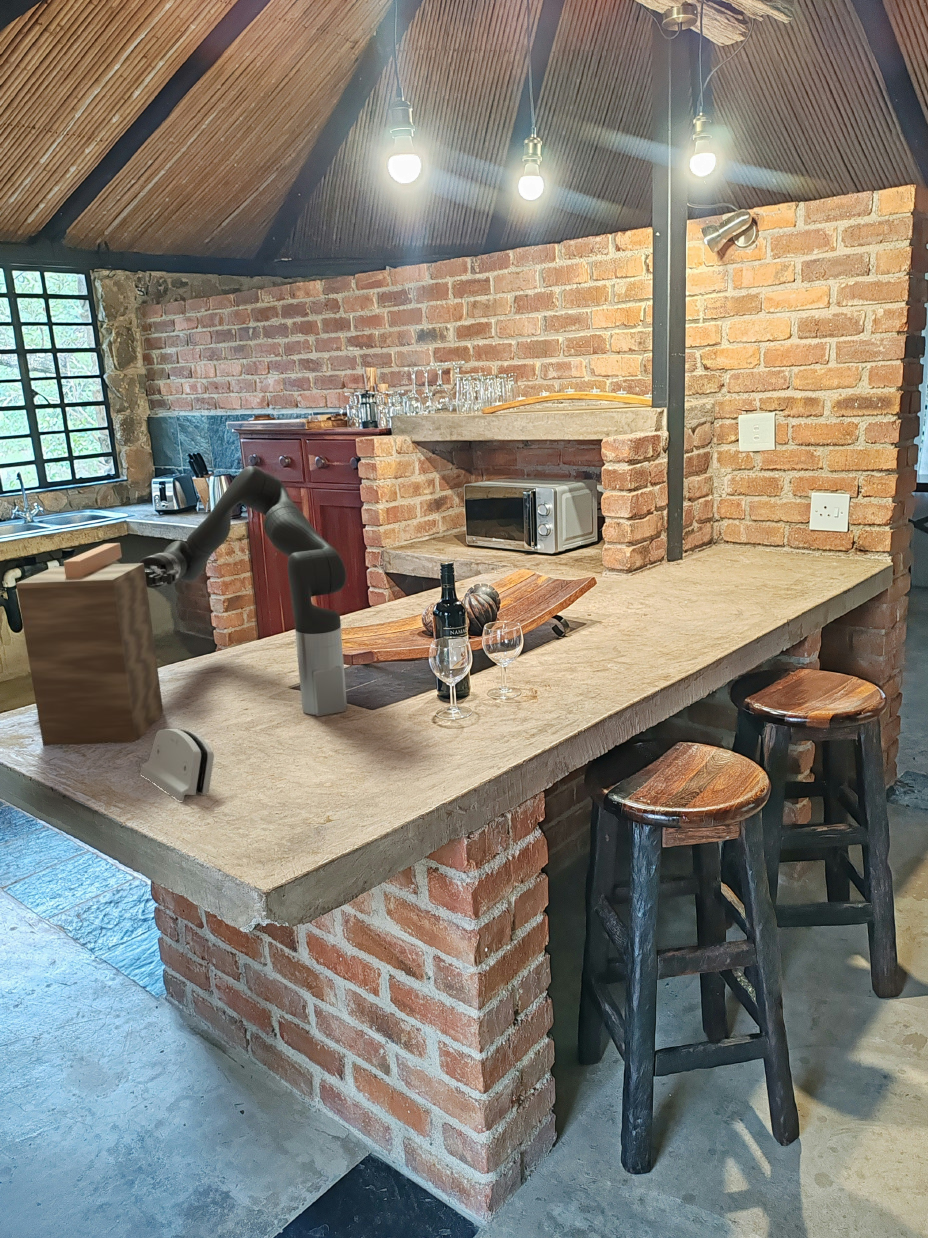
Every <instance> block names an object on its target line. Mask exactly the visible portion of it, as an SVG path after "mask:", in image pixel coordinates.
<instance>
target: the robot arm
mask: <svg viewBox="0 0 928 1238" xmlns="http://www.w3.org/2000/svg"><path fill="white" fill-rule="evenodd" d="M239 504H241V505H244V507H247V508H250V509H251V510H253V511H255V512H257V513H259V514H262V515H263V516H264V519H263V530H264V533H265V534H266V537H267V538H268V539H269V541H270V542H271V543H272V545H273V547H275V549H276V550H277V551H279V552H280V553H282V554H283V555H286V556H288V558H287V577H288V584H289V585H288V586H289V591H290V596H291V597H290V598H291V607H292V614H293V619H294V621H293V622H294V631H295V641H296V642H295V643H296V654H297V665H298V675H299V686H300V697H301V709H302V712H303V713H306V714H308V715H314V716H316V717H322V716H326V715H327V716H328V715H331V714H337V713H341V712H346V711H347V710H346V708H347V706H348V699H347V690H346V677H345V662H344V651H343V640H342V639H343V637H342V627H341V626H342V625H341V624H342V622H341V616H340V614H339V612H338V611H335V610H333V609H328V608H322V607H320V606H317V605H314V604H313V602H312V598H313V597H317V596H326V595H332V594H335V593H338V592H340V591H341V590H343V588H344V587H345V586H346V585H345V584H347V583H346V582H347V569H346V565H345V563H344V561H343V559H342V558H341V556H340V554H339V552H338V551H337V550H336V549H335V547H333V546H332V545H331V544H329V542H328V541H327V540H325V539H324V538H323V537H322V536H321V535H320V534H319V533H318V532H317V531H316V529H315V528H314V527H313V525H312V524H311V523H310V521H309V519H307V517H306V516H305V514H303V512H302V511H301V510H300V509H299V507H298V506H297V505H296V503H294V501H293V500H292V498H291V495H290V494H289V492H288V490H287V488H286V486H285V485H284V483H283V482H282V481H281V480H280V479H278V478H277V477H276V476H273V475H272V474H270V473H268V472H267V471H264V470H262V469H261V468H258V467H256V466H254V465H253V466H252V465H249V466H246V467H244V468H243V469H242V470H241V471H239V472H238V474H236V476H235V477H234V479H233V480H232V482H231V483H230V484H229V485H228V487H227V488H226V490H225V491H224V492H223V494H222V496H221V497H220V498H219V500H218V501H217V503H216V504H215V505H214V507H213V509H212V510H211V511H210V513H209V514H208V516H206V518H205V519H203V521H202V522H201V523H200V524H199V525H198V526H197V527H195V529H194V530H193V531H192V532H191V533H190V534H189V535H188V537H187V539H186V542H185V541H183V540H175V541H173V542H171V543H169V544H168V545H167V546H166V547H165V549H164V550H163V552H158V553H154V554H151V555H148V556H145V557H143V558H141V559H140V561H139V562H138V563H144V568H145V576H146V584H147V589H148V588H149V589H158V588H162V587H164V586H167V585H169V586H170V585H173V584H175V583H177V582H179V579H180V580H181V581H182V582H186V583H187V582H188V583H190V582H194V581H196V579H198V578H199V577H200V576H201V575H202V574H203V571H204V570H205V567H206V566H207V564H208V561H209V559H210V557H211V556H212V554H213V553H214V552H215V551H216V550H218V549H219V547H221V546H222V545H223V543H224V542H226V540H227V538H228V537H229V534H230V531H231V525H232V524H231V523H232V520H231V519H232V513H233V510H234V508H235V507H236V506H237V505H239Z"/></svg>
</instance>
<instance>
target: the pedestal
mask: <svg viewBox="0 0 928 1238" xmlns="http://www.w3.org/2000/svg"><path fill="white" fill-rule="evenodd" d="M15 585H16V586H15V587H16V593H17V597H18V603H19V609H20V610H19V611H20V614H21V621H22V627H23V633H24V640H25V645H26V651H27V659H28V662H29V669H30V675H31V680H32V688H33V694H34V699H35V705H36V711H37V717H38V718H37V719H38V723H39V728H40V735H41V740H42V741H41V742H42V745H43V746H65V745H66V746H67V745H71V746H72V745H94V744H95V745H98V744H102V745H105V744H127V743H128V744H129V743H130V744H131V743H133V742H134V743H137V742H138V741H139V740H140V738H142V736H143V735H145V734H146V732H147V731H149V729H150V728H152V726H153V725H154V724H155V723H156V722H157V721H158V719H159V718H161V716H162V715H163V714H164V708H163V700H162V693H161V684H160V677H159V669H158V661H157V653H156V647H155V637H154V633H153V632H154V631H153V623H152V616H151V608H150V601H149V599H150V598H149V593H148V587H147V584H146V576H145V568H144V563H139V562H138V563H113V564H111V563H109V564H107V565H105V566H103V567H101V568H99V569H97V570H95V571H92V572H90V573H88V574H86V575H84V576H82V577H66V575H65V569H64V565H60V566H59V565H58V566H54V567H51V568H50V567H49V568H48V569H46V570H44V571H41V572H38V573H36V574H34V575H32V576H30V577H27V578H25V579H23V580H20V581H18V582H16V583H15Z"/></svg>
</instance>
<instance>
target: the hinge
mask: <svg viewBox="0 0 928 1238" xmlns="http://www.w3.org/2000/svg"><path fill="white" fill-rule="evenodd" d="M214 759H215V755H214V751H213V749H212V748H211V746H210V745H209V744H208V742H207V741H206V740H205V739H204V738H203V737H202V736H201V735H198V734H197V733H195V732H193V731H190V730H186V729H182V728H181V729H179V728H177V729H176V728H165V729H159V730H158V731H157V732H156V733H155V738H154V741H153V744H152V747H151V751H150V754H149V759H148V760H147V761H146V762H145V763H143V764H142V765H141V768H140V772H139V776H140V775H142V776H144V777H145V778H147V779H149V780H150V781H151V782H153V783H155V784H156V785H157V786H159V787H160V788H162V789H163V790H164V791H166V792H167V793H169V794H170V795H171V796H173V797H175V798H176V799H177V800H179V801H183V802H184V799H185V795H190V796H191V795H192V796H196V794H197V793H199V794H200V795H202V796H207V795H208V794H207V793H210V787H211V786H210V785H211V779H212V778H211V777H212V774H213V766H214ZM206 794H207V795H206Z"/></svg>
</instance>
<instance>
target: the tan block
mask: <svg viewBox="0 0 928 1238" xmlns="http://www.w3.org/2000/svg"><path fill="white" fill-rule="evenodd" d="M122 557H123V555H122V548H121V543H120V542H115V543H114V542H113V543H110V542H109V543H103V544H101V545H99V546H97V547H94V548H92V549H90V550H88V551H85V552H83V553H80V554H78V555H76V556H74V557H71V558H69V559H66V560H64V561H63V566H64V569H65V575H66V577H82V576H84V575H86V574H88V573H90V572H92V571H95V570H97V569H99V568H101V567H103V566H105V565H108V564H111V563H113V562H115V561H117V560H119V559H121V558H122Z"/></svg>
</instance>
